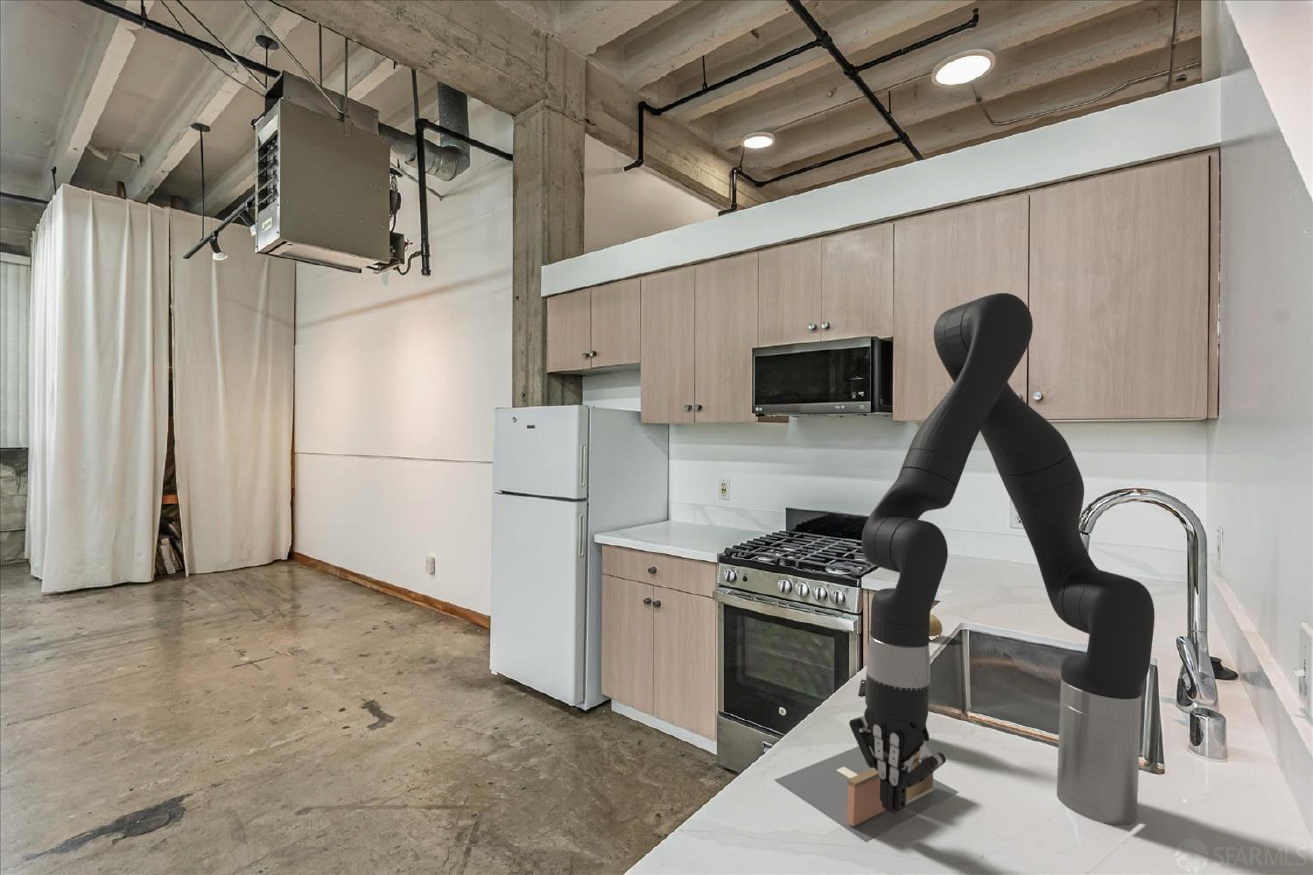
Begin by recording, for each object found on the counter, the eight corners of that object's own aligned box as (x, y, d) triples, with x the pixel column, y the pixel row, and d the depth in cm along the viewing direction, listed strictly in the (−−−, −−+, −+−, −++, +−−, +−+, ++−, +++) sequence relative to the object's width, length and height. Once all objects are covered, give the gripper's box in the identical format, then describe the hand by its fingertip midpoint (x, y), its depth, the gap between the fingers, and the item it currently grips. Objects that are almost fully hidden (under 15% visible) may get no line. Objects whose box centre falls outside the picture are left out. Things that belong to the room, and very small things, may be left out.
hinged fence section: (888, 800, 86) (890, 760, 86) (896, 805, 85) (897, 764, 85) (846, 821, 81) (847, 779, 81) (853, 826, 80) (855, 783, 80)
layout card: (865, 745, 102) (865, 743, 102) (958, 794, 89) (958, 791, 89) (774, 782, 91) (774, 779, 91) (865, 844, 77) (865, 841, 77)
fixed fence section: (923, 783, 91) (925, 742, 91) (935, 789, 90) (936, 748, 90) (888, 800, 86) (889, 758, 86) (899, 807, 85) (901, 764, 85)
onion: (932, 633, 165) (933, 606, 164) (947, 643, 157) (948, 615, 157) (903, 632, 164) (904, 605, 164) (916, 642, 156) (917, 614, 156)
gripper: (964, 686, 75) (958, 827, 75) (872, 652, 86) (867, 775, 86) (928, 699, 71) (922, 849, 71) (836, 661, 82) (831, 791, 82)
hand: (891, 808), depth 79 cm, fingers closed
